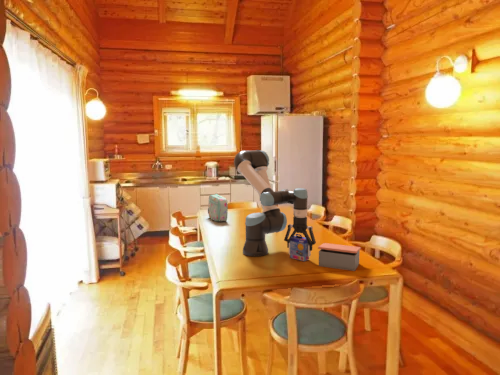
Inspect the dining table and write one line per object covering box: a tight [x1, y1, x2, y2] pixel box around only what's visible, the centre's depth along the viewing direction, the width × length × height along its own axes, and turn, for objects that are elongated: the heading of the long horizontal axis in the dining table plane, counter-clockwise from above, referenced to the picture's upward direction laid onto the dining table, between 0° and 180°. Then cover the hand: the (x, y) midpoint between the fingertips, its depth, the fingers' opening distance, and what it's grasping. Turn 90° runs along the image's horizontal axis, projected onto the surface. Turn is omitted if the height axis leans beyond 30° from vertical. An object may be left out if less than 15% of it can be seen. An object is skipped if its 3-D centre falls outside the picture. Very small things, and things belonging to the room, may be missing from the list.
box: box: [318, 249, 360, 272], centre depth 204 cm, size 19×12×8 cm, turn 64°
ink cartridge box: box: [289, 233, 310, 262], centre depth 213 cm, size 10×6×14 cm, turn 51°
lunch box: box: [207, 193, 229, 223], centre depth 318 cm, size 27×10×21 cm, turn 25°
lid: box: [317, 242, 362, 253], centre depth 203 cm, size 20×12×1 cm, turn 64°
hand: (299, 254), depth 214 cm, fingers closed on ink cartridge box, 10 cm apart
